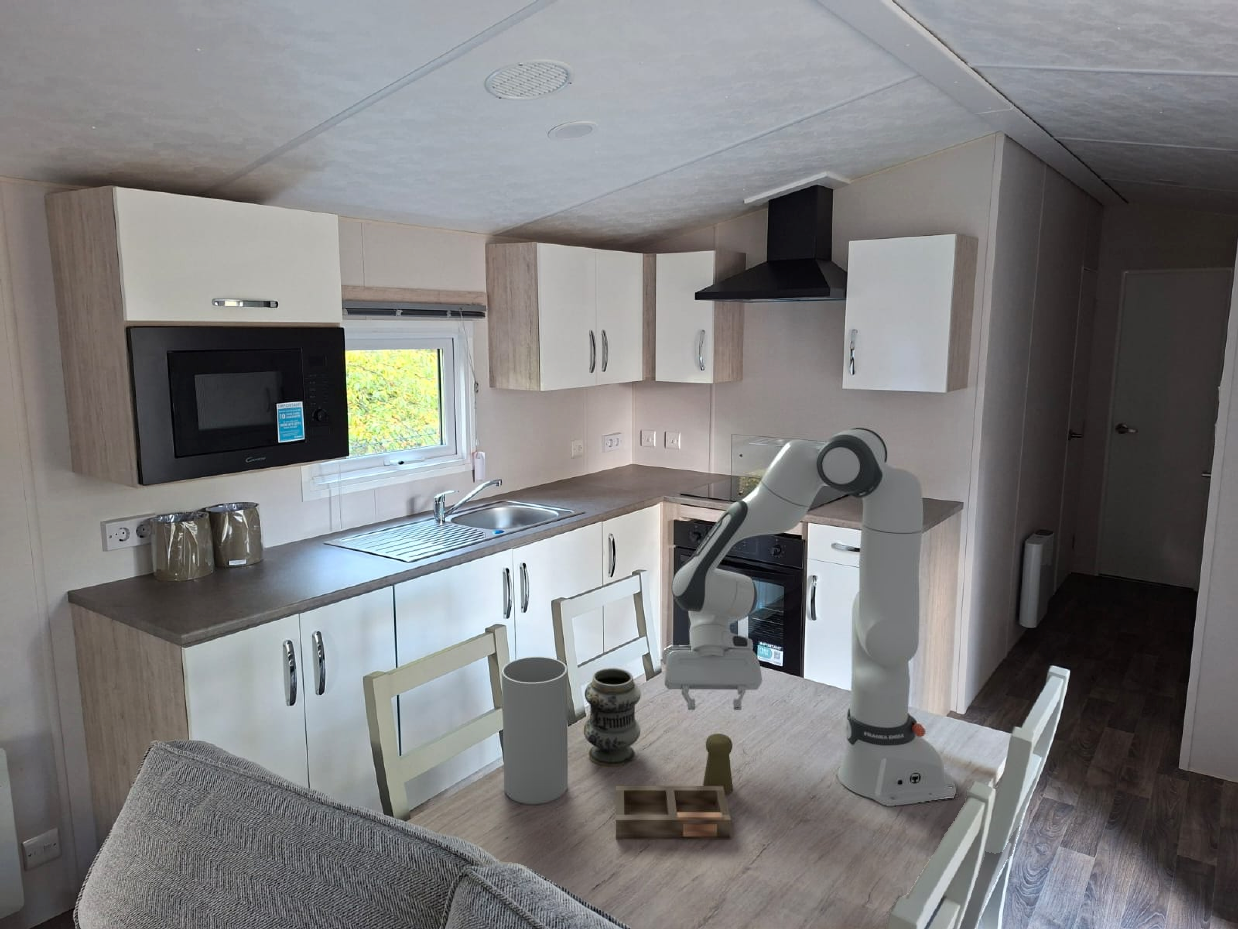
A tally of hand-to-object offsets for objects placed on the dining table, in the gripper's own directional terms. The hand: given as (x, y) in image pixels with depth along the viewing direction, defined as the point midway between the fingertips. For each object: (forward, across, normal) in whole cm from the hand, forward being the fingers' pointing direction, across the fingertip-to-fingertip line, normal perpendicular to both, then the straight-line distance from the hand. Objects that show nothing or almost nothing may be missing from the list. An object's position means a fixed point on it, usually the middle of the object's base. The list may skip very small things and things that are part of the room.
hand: (714, 709), depth 174 cm
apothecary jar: (+6, -21, +13) cm, 25 cm away
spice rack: (+22, -10, -4) cm, 25 cm away
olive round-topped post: (+15, 0, +4) cm, 15 cm away
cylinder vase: (+15, -36, +4) cm, 39 cm away
